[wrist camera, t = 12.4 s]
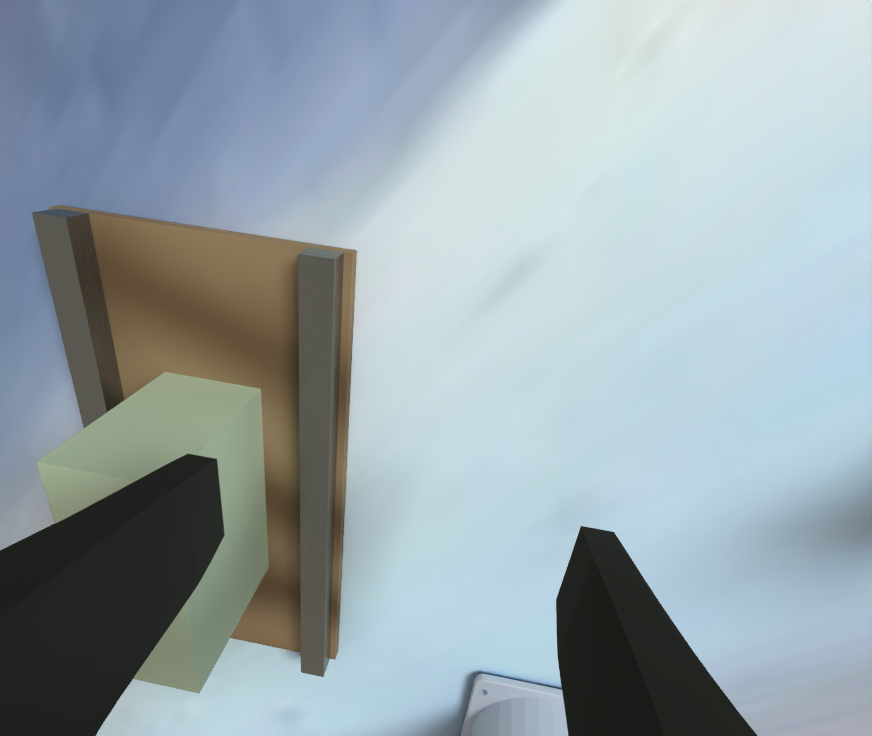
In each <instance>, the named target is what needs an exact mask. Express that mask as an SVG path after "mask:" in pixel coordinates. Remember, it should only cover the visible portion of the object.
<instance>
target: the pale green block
mask: <svg viewBox="0 0 872 736" xmlns="http://www.w3.org/2000/svg"><path fill="white" fill-rule="evenodd" d="M186 454H193V455H199V456H204V457H209V458H215V459H217V463H218V473H219V483H220V493H221V503H222V513H223V523H224V533H225V536H224V537H223V539H222V541H221V543H220V545H219V547H218V549H217V551H216V553H215V555H214V557H213V559H212V561H211V563H210V564H209V566H208V568H207V570H206V572H205V574H204V575H203V577H202V579H201V581H200V583H199V584H198V586H197V587H196V589H195V590H194V592H193V593H192V595H191V596H190V597H189V599H188V600H187V602H186V603H185V605H184V606H183V608H182V609H181V611H180V612H179V613H178V615H177V616H176V618H175V619H174V621H173V622H172V624H171V625H170V626H169V628H168V629H167V631H166V632H165V634H164V635H163V636H162V638H161V639H160V641H159V642H158V644H157V645H156V646H155V648H154V649H153V651H152V652H151V654H150V655H149V656H148V658H147V659H146V661H145V662H144V664H143V665H142V666H141V668H140V669H139V671H138V672H137V674H136V675H135V676H134V678H133V679H137V680H141V681H146V682H150V683H155V684H159V685H164V686H168V687H173V688H178V689H182V690H187V691H191V692H196V693H200V691H201V689H202V688H203V686H204V684H205V682H206V680H207V679H208V677H209V675H210V673H211V671H212V669H213V668H214V666H215V664H216V662H217V660H218V659H219V657H220V655H221V653H222V651H223V649H224V648H225V646H226V644H227V642H228V640H229V639H230V637H231V635H232V633H233V631H234V629H235V628H236V626H237V624H238V622H239V620H240V619H241V617H242V615H243V613H244V611H245V609H246V608H247V606H248V604H249V602H250V600H251V599H252V597H253V595H254V593H255V591H256V589H257V588H258V586H259V584H260V582H261V580H262V579H263V577H264V575H265V573H266V571H267V569H268V568H269V561H268V539H267V516H266V494H265V471H264V448H263V426H262V403H261V389H260V388H254V387H248V386H242V385H237V384H231V383H225V382H220V381H214V380H208V379H203V378H197V377H191V376H186V375H180V374H174V373H169V372H164V373H163V374H161V375H160V376H158V377H157V378H156V379H154V380H153V381H151V382H150V383H148V384H147V385H146V386H144V387H143V388H141V389H140V390H138V391H137V392H136V393H134V394H133V395H131V396H130V397H128V398H127V399H126V400H124V401H123V402H121V403H120V404H118V405H117V406H116V407H114V408H113V409H111V410H110V411H108V412H107V413H106V414H104V415H103V416H101V417H100V418H98V419H97V420H95V421H94V422H93V423H91V424H90V425H88V426H87V427H85V428H84V429H83V430H81V431H80V432H78V433H77V434H75V435H74V436H73V437H71V438H70V439H68V440H67V441H65V442H64V443H63V444H61V445H60V446H58V447H57V448H55V449H54V450H53V451H51V452H50V453H48V454H47V455H45V456H44V457H43V458H41V459H40V460H38V461H37V465H38V469H39V472H40V475H41V479H42V482H43V485H44V489H45V492H46V495H47V498H48V502H49V505H50V508H51V512H52V515H53V518H54V522H55V523H57V522H59V521H61V520H63V519H65V518H67V517H69V516H71V515H73V514H75V513H77V512H79V511H81V510H82V509H84V508H86V507H88V506H90V505H92V504H94V503H96V502H97V501H99V500H101V499H103V498H105V497H107V496H109V495H111V494H112V493H114V492H116V491H118V490H120V489H122V488H124V487H125V486H127V485H129V484H131V483H133V482H135V481H137V480H138V479H140V478H142V477H144V476H146V475H148V474H149V473H151V472H153V471H155V470H157V469H159V468H161V467H162V466H164V465H166V464H168V463H170V462H172V461H174V460H176V459H178V458H180V457H182V456H184V455H186Z"/></svg>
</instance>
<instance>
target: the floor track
mask: <svg viewBox="0 0 872 736" xmlns="http://www.w3.org/2000/svg"><path fill="white" fill-rule="evenodd" d="M32 215H33V219H34V223H35V227H36V231H37V235H38V239H39V244H40V248H41V252H42V256H43V260H44V264H45V268H46V273H47V277H48V281H49V285H50V289H51V293H52V297H53V302H54V306H55V310H56V314H57V318H58V322H59V326H60V331H61V335H62V339H63V343H64V347H65V351H66V355H67V360H68V364H69V368H70V372H71V376H72V380H73V384H74V388H75V393H76V397H77V401H78V405H79V409H80V413H81V417H82V422H83V426H84V428H85V427H87V426H88V425H90V424H91V423H93V422H94V421H95V420H97V419H98V418H100V417H101V416H103V415H104V414H106V413H107V412H108V411H110V410H111V409H113V408H114V407H116V406H117V405H118V404H120V403H121V402H123V401H124V400H126V399H127V398H128V397H130V396H131V395H133V394H134V393H136V392H137V391H138V390H140V389H141V388H143V387H144V386H146V385H147V384H148V383H150V382H151V381H153V380H154V379H156V378H157V377H158V376H160V375H161V374H163V373H164V372H169V373H174V374H180V375H186V376H191V377H197V378H203V379H208V380H214V381H220V382H225V383H231V384H237V385H242V386H248V387H254V388H260V389H261V403H262V426H263V448H264V471H265V494H266V516H267V539H268V561H269V568H268V569H267V571H266V573H265V575H264V577H263V579H262V580H261V582H260V584H259V586H258V588H257V589H256V591H255V593H254V595H253V597H252V599H251V600H250V602H249V604H248V606H247V608H246V609H245V611H244V613H243V615H242V617H241V619H240V620H239V622H238V624H237V626H236V628H235V629H234V631H233V633H232V635H231V637H230V638H234V639H239V640H244V641H249V642H253V643H258V644H263V645H268V646H272V647H277V648H282V649H287V650H292V651H296V652H301V672H302V673H307V674H312V675H317V676H321V677H324V674H325V671H326V668H327V665H328V662H329V659H335V658H336V655H337V652H338V640H339V619H340V597H341V576H342V554H343V533H344V511H345V490H346V469H347V447H348V426H349V404H350V383H351V361H352V340H353V318H354V297H355V275H356V254H357V251H356V250H350V249H343V248H337V247H330V246H324V245H317V244H311V243H304V242H297V241H291V240H284V239H278V238H271V237H265V236H258V235H252V234H245V233H238V232H232V231H225V230H219V229H212V228H206V227H199V226H192V225H186V224H179V223H173V222H166V221H160V220H153V219H147V218H140V217H133V216H127V215H120V214H114V213H107V212H101V211H94V210H88V209H81V208H74V207H68V206H61V205H59V206H53V207H49V210H45V211H39V212H33V213H32Z"/></svg>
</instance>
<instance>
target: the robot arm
mask: <svg viewBox="0 0 872 736" xmlns="http://www.w3.org/2000/svg"><path fill="white" fill-rule="evenodd" d="M224 536H225V533H224V523H223V513H222V503H221V493H220V483H219V473H218V463H217V459H215V458H209V457H204V456H199V455H193V454H186V455H184V456H182V457H180V458H178V459H176V460H174V461H172V462H170V463H168V464H166V465H164V466H162V467H161V468H159V469H157V470H155V471H153V472H151V473H149V474H148V475H146V476H144V477H142V478H140V479H138V480H137V481H135V482H133V483H131V484H129V485H127V486H125V487H124V488H122V489H120V490H118V491H116V492H114V493H112V494H111V495H109V496H107V497H105V498H103V499H101V500H99V501H97V502H96V503H94V504H92V505H90V506H88V507H86V508H84V509H82V510H81V511H79V512H77V513H75V514H73V515H71V516H69V517H67V518H65V519H63V520H61V521H59V522H57V523H55V524H53V525H51V526H49V527H47V528H45V529H43V530H41V531H39V532H37V533H35V534H33V535H31V536H29V537H27V538H25V539H23V540H21V541H19V542H17V543H15V544H13V545H11V546H9V547H7V548H5V549H3V550H1V551H0V736H96V734H97V732H98V730H99V729H100V727H101V725H102V724H103V722H104V721H105V719H106V718H107V716H108V715H109V713H110V712H111V710H112V709H113V707H114V706H115V704H116V702H117V701H118V699H119V698H120V696H121V695H122V694H123V692H124V691H125V689H126V688H127V686H128V685H129V684H130V682H131V681H132V679H133V678H134V676H135V675H136V674H137V672H138V671H139V669H140V668H141V666H142V665H143V664H144V662H145V661H146V659H147V658H148V656H149V655H150V654H151V652H152V651H153V649H154V648H155V646H156V645H157V644H158V642H159V641H160V639H161V638H162V636H163V635H164V634H165V632H166V631H167V629H168V628H169V626H170V625H171V624H172V622H173V621H174V619H175V618H176V616H177V615H178V613H179V612H180V611H181V609H182V608H183V606H184V605H185V603H186V602H187V600H188V599H189V597H190V596H191V595H192V593H193V592H194V590H195V589H196V587H197V586H198V584H199V583H200V581H201V579H202V577H203V575H204V574H205V572H206V570H207V568H208V566H209V564H210V563H211V561H212V559H213V557H214V555H215V553H216V551H217V549H218V547H219V545H220V543H221V541H222V539H223V537H224ZM556 611H557V649H558V662H559V670H560V677H561V685H562V690H561V689H556V688H552V687H547V686H542V685H537V684H532V683H527V682H523V681H518V680H513V679H508V678H503V677H498V676H494V675H489V674H479V675H477V676H476V677H475V680H474V684H473V688H472V691H471V695H470V699H469V703H468V707H467V711H466V715H465V719H464V723H463V727H462V731H461V735H460V736H757V735H756V733H755V732H754V731H753V730H752V728H751V727H750V726H749V725H748V723H747V722H746V721H745V720H744V718H743V717H742V716H741V715H740V713H739V712H738V711H737V710H736V708H735V707H734V706H733V704H732V703H731V702H730V700H729V699H728V698H727V696H726V695H725V694H724V692H723V691H722V690H721V689H720V687H719V686H718V685H717V683H716V682H715V681H714V679H713V678H712V677H711V675H710V674H709V673H708V671H707V670H706V668H705V667H704V666H703V664H702V663H701V662H700V660H699V659H698V657H697V656H696V655H695V653H694V652H693V650H692V649H691V648H690V646H689V645H688V643H687V642H686V640H685V639H684V637H683V636H682V635H681V633H680V632H679V630H678V629H677V627H676V626H675V625H674V623H673V622H672V620H671V619H670V617H669V616H668V614H667V613H666V611H665V610H664V608H663V607H662V605H661V604H660V602H659V601H658V599H657V598H656V596H655V595H654V593H653V592H652V590H651V589H650V587H649V586H648V584H647V583H646V581H645V580H644V578H643V576H642V575H641V573H640V572H639V570H638V569H637V567H636V566H635V564H634V562H633V561H632V559H631V558H630V556H629V555H628V553H627V552H626V550H625V548H624V547H623V545H622V544H621V542H620V541H619V539H618V538H617V536H616V535H615V533H614V532H610V531H605V530H599V529H594V528H589V527H583V526H581V528H580V531H579V534H578V537H577V540H576V543H575V546H574V549H573V552H572V555H571V558H570V561H569V564H568V567H567V570H566V573H565V576H564V578H563V581H562V584H561V587H560V590H559V593H558V596H557V599H556Z"/></svg>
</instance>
